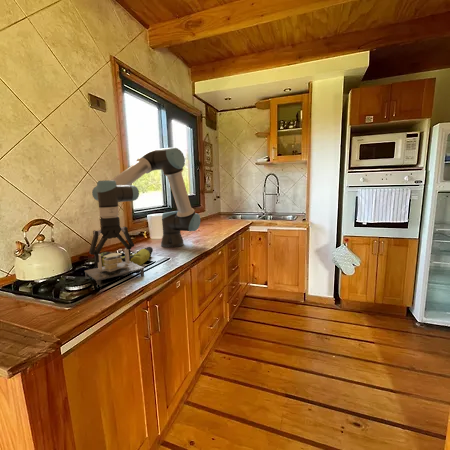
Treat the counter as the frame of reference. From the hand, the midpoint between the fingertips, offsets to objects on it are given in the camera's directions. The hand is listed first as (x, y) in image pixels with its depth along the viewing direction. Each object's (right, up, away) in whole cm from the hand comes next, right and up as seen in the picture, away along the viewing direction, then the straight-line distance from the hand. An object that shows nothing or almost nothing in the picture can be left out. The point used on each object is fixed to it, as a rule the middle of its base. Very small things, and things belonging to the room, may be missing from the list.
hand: (114, 265), depth 111 cm
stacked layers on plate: (0, -1, 0) cm, 1 cm away
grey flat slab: (0, -5, +1) cm, 5 cm away
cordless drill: (-4, -2, +26) cm, 26 cm away
